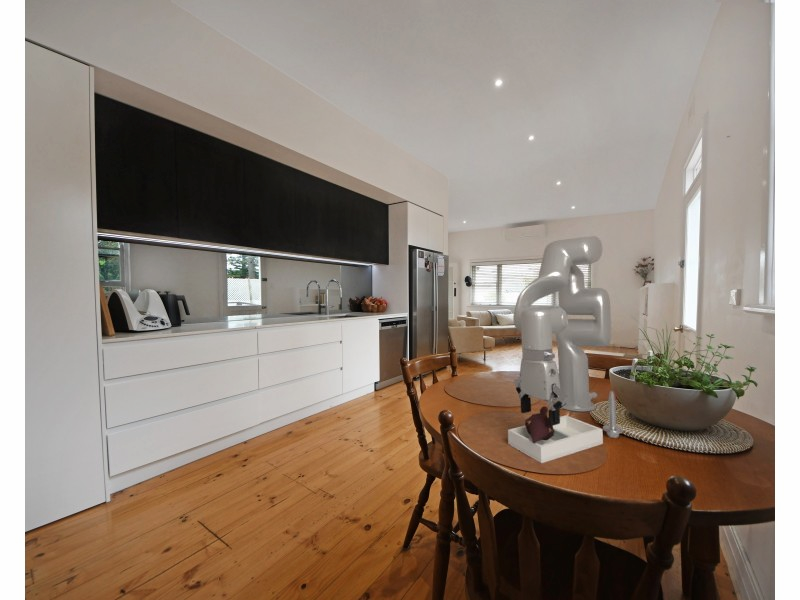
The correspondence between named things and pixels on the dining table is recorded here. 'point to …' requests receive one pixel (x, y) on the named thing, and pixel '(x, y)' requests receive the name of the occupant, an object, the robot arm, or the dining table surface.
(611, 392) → the screw
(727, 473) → the dining table surface
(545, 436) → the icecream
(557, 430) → the white divided tray
